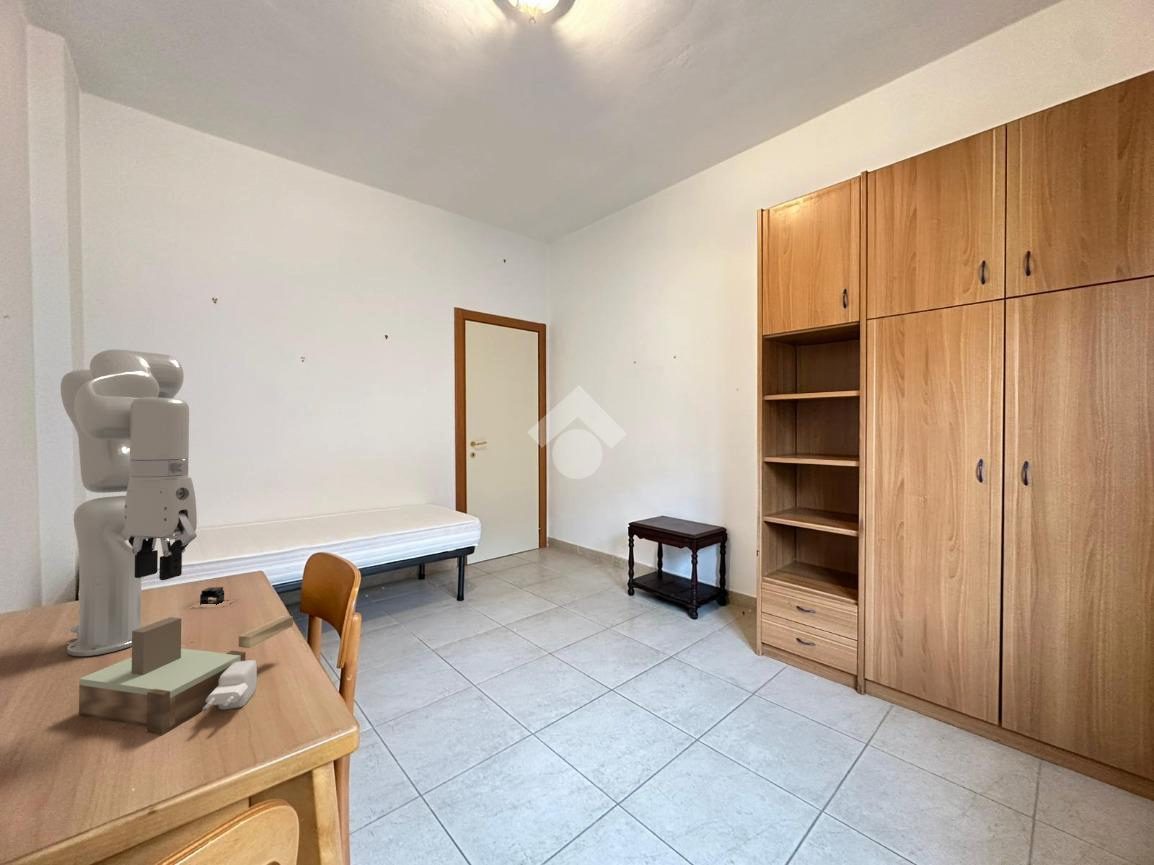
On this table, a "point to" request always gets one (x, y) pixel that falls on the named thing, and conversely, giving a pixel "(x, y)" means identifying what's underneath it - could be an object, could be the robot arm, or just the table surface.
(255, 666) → the power adapter
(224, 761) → the table surface
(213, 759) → the table surface
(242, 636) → the tan rectangular block
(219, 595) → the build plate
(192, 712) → the brown wooden open box
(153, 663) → the lid
